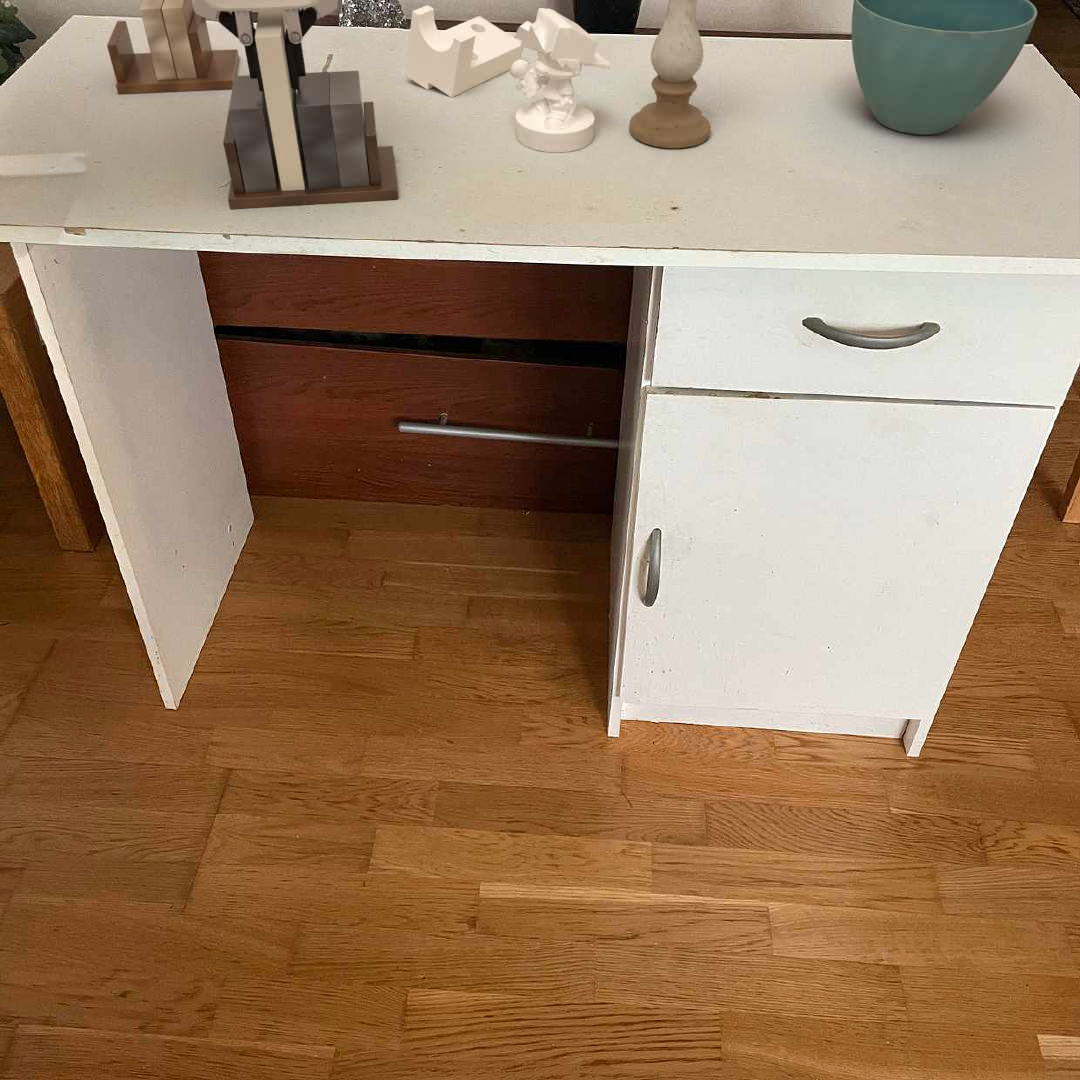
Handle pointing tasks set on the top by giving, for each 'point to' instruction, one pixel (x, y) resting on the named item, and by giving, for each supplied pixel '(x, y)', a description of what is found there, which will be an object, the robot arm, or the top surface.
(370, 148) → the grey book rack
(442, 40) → the bracket
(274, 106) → the cream book
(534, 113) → the character figurine
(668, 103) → the candle holder
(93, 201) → the top surface
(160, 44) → the brown book rack
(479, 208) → the top surface
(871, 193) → the top surface
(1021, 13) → the plant pot
